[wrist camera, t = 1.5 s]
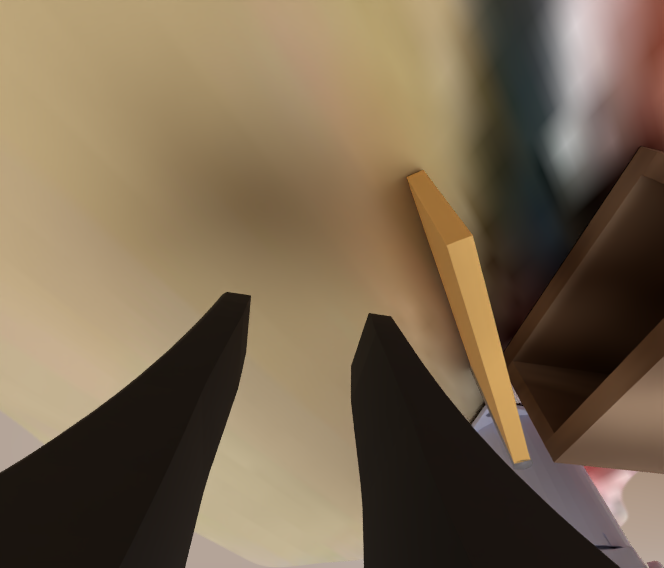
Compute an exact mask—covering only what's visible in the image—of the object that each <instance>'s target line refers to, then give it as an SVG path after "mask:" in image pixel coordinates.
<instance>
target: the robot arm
mask: <svg viewBox="0 0 664 568" xmlns="http://www.w3.org/2000/svg"><path fill="white" fill-rule="evenodd" d="M250 301H251V296H250V295H244V294H237V293H230V292H226V293H224V294H223V295H222V296H221V297H220V298H219V299H218V300H217V302H216V303H215V304H214V305H213V306H212V307H211V308H210V309H209V311H208V312H207V313H206V314H205V315H204V316H203V317H202V318H201V319H200V320H199V321H198V322H197V323H196V324H195V325H194V326H193V327H192V328H191V329H190V330H189V331H188V332H187V333H186V334H185V335H184V336H183V337H182V338H181V339H180V340H179V341H178V342H177V343H176V344H175V345H174V346H173V347H172V348H171V349H169V350H168V351H167V352H166V353H165V354H164V355H163V356H162V357H160V358H159V359H158V360H157V361H156V362H155V363H153V364H152V365H151V366H150V367H149V368H148V369H147V370H145V371H144V372H143V373H142V374H141V375H140V376H138V377H137V378H136V379H135V380H133V381H132V382H131V383H130V384H129V385H127V386H126V387H125V388H123V389H122V390H121V391H120V392H118V393H117V394H116V395H114V396H113V397H112V398H110V399H109V400H108V401H106V402H105V403H104V404H102V405H101V406H100V407H98V408H97V409H96V410H94V411H93V412H92V413H90V414H89V415H87V416H86V417H84V418H83V419H82V420H80V421H79V422H77V423H76V424H74V425H73V426H71V427H70V428H69V429H67V430H66V431H64V432H63V433H61V434H60V435H58V436H57V437H56V438H54V439H53V440H51V441H50V442H48V443H47V444H45V445H44V446H42V447H41V448H39V449H38V450H36V451H34V452H33V453H32V454H30V455H28V456H27V457H25V458H23V459H22V460H20V461H19V462H17V463H15V464H14V465H12V466H10V467H9V468H7V469H5V470H4V471H2V472H1V473H0V568H185V566H186V561H187V557H188V553H189V549H190V545H191V541H192V536H193V533H194V528H195V524H196V520H197V516H198V512H199V508H200V504H201V500H202V496H203V492H204V489H205V486H206V482H207V479H208V476H209V472H210V469H211V466H212V463H213V461H214V458H215V455H216V452H217V449H218V446H219V443H220V440H221V437H222V434H223V431H224V428H225V425H226V422H227V419H228V417H229V414H230V411H231V408H232V405H233V402H234V399H235V396H236V393H237V390H238V386H239V382H240V377H241V373H242V369H243V364H244V359H245V355H246V347H247V336H248V324H249V313H250ZM351 405H352V414H353V423H354V432H355V440H356V448H357V457H358V465H359V474H360V482H361V493H362V507H363V543H364V568H647V566H646V565H645V564H644V562H643V561H642V559H641V558H640V557H639V555H638V554H637V552H636V551H635V550H634V548H633V547H632V546H631V544H630V543H629V541H628V539H627V538H626V536H625V534H624V533H623V531H622V529H621V528H620V526H619V524H618V523H617V521H616V519H615V518H614V516H613V514H612V513H611V511H610V509H609V508H608V506H607V505H606V503H605V501H604V500H603V498H602V496H601V495H600V493H599V491H598V490H597V488H596V486H595V485H594V483H593V481H592V480H591V478H590V476H589V475H588V473H587V471H586V470H585V468H584V466H583V465H573V464H564V463H554V462H553V460H552V458H551V456H550V454H549V452H548V450H547V449H546V447H545V445H544V443H543V441H542V439H541V438H540V436H539V434H538V432H537V430H536V428H535V426H534V425H533V423H532V421H531V419H530V417H529V415H528V413H527V412H526V410H525V408H524V406H518V405H516V406H517V410H518V414H519V418H520V422H521V425H522V429H523V433H524V437H525V441H526V445H527V449H528V453H529V455H530V457H531V459H532V461H533V465H532V466H531V467H529V468H527V469H523V470H517V469H514V468H513V465H512V463H511V461H510V459H509V456H508V454H507V452H506V450H505V447H504V445H503V443H502V440H501V438H500V436H499V434H498V431H497V429H496V427H495V424H494V422H493V420H492V418H491V415H490V413H489V411H488V408H487V406H486V405H485V406H484V408H483V409H482V410H481V412H480V413H479V415H478V416H477V417H476V419H475V420H474V422H473V423H472V425H471V424H470V423H469V422H468V421H467V420H466V419H465V417H464V416H463V415H462V414H461V412H460V411H459V410H458V409H457V408H456V406H455V405H454V404H453V403H452V401H451V400H450V399H449V398H448V396H447V395H446V394H445V393H444V391H443V390H442V389H441V387H440V386H439V385H438V383H437V382H436V381H435V379H434V378H433V377H432V375H431V374H430V373H429V371H428V370H427V368H426V367H425V366H424V364H423V363H422V361H421V360H420V359H419V357H418V356H417V354H416V353H415V351H414V350H413V348H412V347H411V345H410V344H409V342H408V341H407V339H406V338H405V336H404V335H403V333H402V332H401V330H400V329H399V327H398V326H397V324H396V323H395V322H394V320H393V319H392V317H391V316H384V315H378V314H371V313H369V314H368V317H367V320H366V323H365V326H364V329H363V332H362V335H361V338H360V341H359V344H358V347H357V350H356V353H355V356H354V359H353V362H352V365H351ZM647 564H648V566H649V568H664V567H663V566H662V564H661V563H660V562H658V561H652V562H648V563H647Z"/></svg>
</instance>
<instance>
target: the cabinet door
mask: <svg viewBox="0 0 664 568" xmlns="http://www.w3.org/2000/svg"><path fill="white" fill-rule="evenodd" d="M407 180H408V183H409V186H410V189H411V192H412V195H413V198H414V201H415V204H416V207H417V209H418V212H419V215H420V218H421V221H422V224H423V227H424V230H425V233H426V236H427V239H428V242H429V245H430V248H431V251H432V253H433V256H434V259H435V262H436V265H437V268H438V271H439V274H440V277H441V280H442V283H443V286H444V289H445V292H446V295H447V298H448V300H449V303H450V306H451V309H452V312H453V315H454V318H455V321H456V324H457V327H458V330H459V333H460V336H461V339H462V342H463V344H464V347H465V350H466V353H467V356H468V359H469V362H470V365H471V367H470V370H471V372H472V374H473V377H474V379H475V381H476V383H477V386H478V388H479V390H480V393H481V395H482V397H483V399H484V402H485V404H486V406H487V408H488V411H489V413H490V415H491V418H492V420H493V422H494V424H495V427H496V429H497V431H498V434H499V436H500V438H501V440H502V443H503V445H504V447H505V450H506V452H507V454H508V456H509V459H510V461H511V463H512V465H513V468H514V469H517V470H523V469H527V468H529V467H531V466H532V465H533V461H532V459H531V457H530V455H529V453H528V449H527V445H526V441H525V437H524V433H523V429H522V425H521V422H520V418H519V414H518V410H517V406H516V402H515V398H514V394H513V390H512V387H511V383H510V379H509V375H508V371H507V367H506V363H505V359H504V355H503V352H502V348H501V344H500V340H499V336H498V332H497V328H496V324H495V320H494V317H493V313H492V309H491V305H490V301H489V297H488V293H487V289H486V285H485V282H484V278H483V274H482V270H481V266H480V262H479V258H478V254H477V250H476V246H475V243H474V239H473V235H472V234H471V233H470V231H469V230H468V229H467V227H466V226H465V225H464V223H463V222H462V221H461V219H460V218H459V217H458V215H457V214H456V213H455V211H454V210H453V209H452V207H451V206H450V205H449V203H448V202H447V201H446V199H445V198H444V197H443V195H442V194H441V193H440V191H439V190H438V189H437V187H436V186H435V185H434V183H433V182H432V181H431V179H430V178H429V177H428V175H427V174H426V173H425V172H424V170H422V171H420V172H417V173H415V174H413V175H410V176H408V177H407Z"/></svg>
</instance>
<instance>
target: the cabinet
mask: <svg viewBox="0 0 664 568" xmlns="http://www.w3.org/2000/svg"><path fill="white" fill-rule="evenodd" d="M503 355H504V359H505V363H506V367H507V371H508V375H509V379H510V382H511V384H512V386H513V388H514V389H515V391H516V393H517V395H518V397H519V399H520V400H521V402H522V404H523V406H524V408H525V410H526V412H527V413H528V415H529V417H530V419H531V421H532V423H533V425H534V426H535V428H536V430H537V432H538V434H539V436H540V438H541V439H542V441H543V443H544V445H545V447H546V449H547V450H548V452H549V454H550V456H551V458H552V460H553V462H554V463H564V464H573V465H583V466H593V467H602V468H612V469H622V470H632V471H641V472H652V473H661V474H664V152H663V151H659V150H655V149H650V148H646V147H642V146H641V147H640V148H639V150H638V151H637V153H636V154H635V156H634V157H633V159H632V160H631V162H630V163H629V165H628V166H627V168H626V169H625V171H624V172H623V174H622V175H621V177H620V178H619V180H618V181H617V183H616V184H615V186H614V187H613V189H612V190H611V192H610V193H609V195H608V196H607V198H606V199H605V201H604V202H603V204H602V205H601V207H600V208H599V210H598V211H597V213H596V214H595V216H594V217H593V219H592V220H591V222H590V223H589V225H588V226H587V228H586V229H585V231H584V232H583V234H582V235H581V237H580V238H579V240H578V241H577V243H576V244H575V246H574V247H573V249H572V250H571V252H570V253H569V255H568V256H567V258H566V259H565V261H564V262H563V264H562V265H561V267H560V268H559V270H558V271H557V273H556V274H555V276H554V277H553V279H552V280H551V282H550V283H549V285H548V286H547V288H546V289H545V291H544V292H543V294H542V295H541V297H540V298H539V300H538V301H537V303H536V304H535V306H534V307H533V309H532V310H531V312H530V313H529V315H528V316H527V318H526V319H525V321H524V322H523V324H522V325H521V327H520V329H519V330H518V332H517V333H516V335H515V336H514V338H513V339H512V341H511V342H510V344H509V345H508V347H507V348H506V350H505V351H504V353H503Z"/></svg>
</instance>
